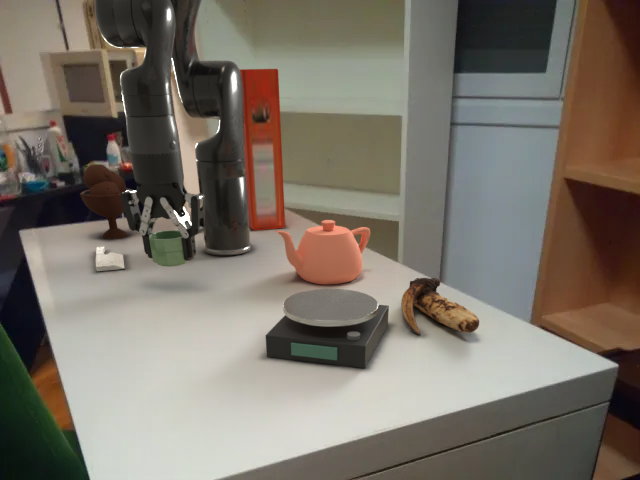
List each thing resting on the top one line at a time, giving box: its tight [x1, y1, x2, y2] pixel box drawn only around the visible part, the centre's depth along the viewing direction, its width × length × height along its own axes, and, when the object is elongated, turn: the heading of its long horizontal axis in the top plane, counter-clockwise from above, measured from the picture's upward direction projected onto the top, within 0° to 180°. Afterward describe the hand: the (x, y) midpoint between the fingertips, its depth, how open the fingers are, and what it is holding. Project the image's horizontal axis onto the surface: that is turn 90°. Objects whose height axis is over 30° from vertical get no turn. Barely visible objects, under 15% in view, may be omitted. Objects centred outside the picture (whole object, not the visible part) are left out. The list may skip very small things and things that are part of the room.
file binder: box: [239, 68, 286, 231], centre depth 137 cm, size 8×17×32 cm, turn 17°
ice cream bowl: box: [79, 163, 134, 240], centre depth 129 cm, size 11×11×15 cm
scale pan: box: [282, 288, 379, 327], centre depth 78 cm, size 13×13×1 cm
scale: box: [265, 304, 390, 369], centre depth 80 cm, size 15×13×4 cm
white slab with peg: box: [94, 246, 125, 272], centre depth 116 cm, size 5×15×1 cm, turn 17°
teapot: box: [275, 219, 371, 285], centre depth 104 cm, size 12×18×10 cm
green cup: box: [149, 229, 188, 268], centre depth 98 cm, size 6×6×4 cm
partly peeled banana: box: [400, 277, 480, 336], centre depth 86 cm, size 9×5×18 cm
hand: (171, 258), depth 99 cm, fingers closed on green cup, 6 cm apart
